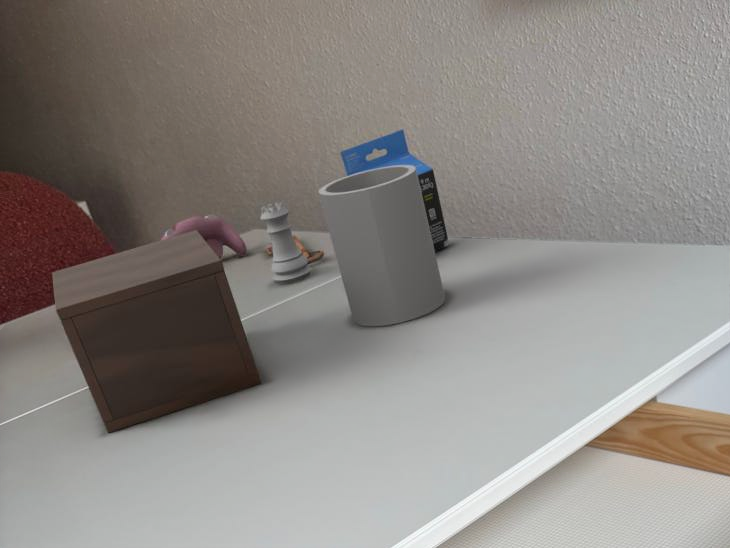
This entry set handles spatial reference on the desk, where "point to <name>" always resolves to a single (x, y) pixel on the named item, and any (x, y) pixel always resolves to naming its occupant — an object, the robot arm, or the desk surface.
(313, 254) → the key
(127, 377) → the cabinet
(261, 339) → the desk surface
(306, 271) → the white chess rook
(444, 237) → the tape cartridge
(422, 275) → the cup
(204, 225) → the video game controller
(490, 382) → the desk surface
